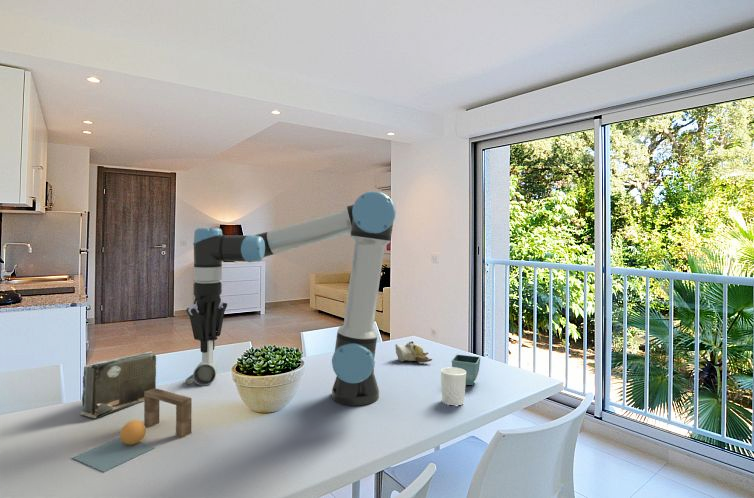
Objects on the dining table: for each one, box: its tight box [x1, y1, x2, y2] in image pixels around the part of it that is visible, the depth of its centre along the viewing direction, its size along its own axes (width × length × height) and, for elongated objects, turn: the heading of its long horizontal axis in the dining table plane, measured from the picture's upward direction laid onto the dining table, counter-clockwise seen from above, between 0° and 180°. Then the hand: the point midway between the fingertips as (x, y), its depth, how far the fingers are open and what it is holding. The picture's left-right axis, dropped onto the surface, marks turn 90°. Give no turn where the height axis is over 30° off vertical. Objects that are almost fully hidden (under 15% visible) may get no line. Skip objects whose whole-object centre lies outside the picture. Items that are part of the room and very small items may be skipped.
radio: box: [79, 350, 157, 419], centre depth 128 cm, size 23×9×15 cm, turn 153°
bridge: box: [143, 388, 193, 439], centre depth 112 cm, size 3×14×9 cm, turn 63°
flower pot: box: [451, 354, 481, 386], centre depth 151 cm, size 9×9×9 cm
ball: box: [119, 420, 147, 445], centre depth 104 cm, size 6×6×6 cm
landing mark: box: [71, 436, 155, 473], centre depth 100 cm, size 12×12×1 cm
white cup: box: [440, 366, 466, 406], centre depth 134 cm, size 8×8×10 cm
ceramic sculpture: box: [394, 341, 433, 364], centre depth 177 cm, size 11×9×15 cm
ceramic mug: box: [185, 361, 218, 386], centre depth 148 cm, size 10×8×7 cm
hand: (207, 362), depth 123 cm, fingers closed
